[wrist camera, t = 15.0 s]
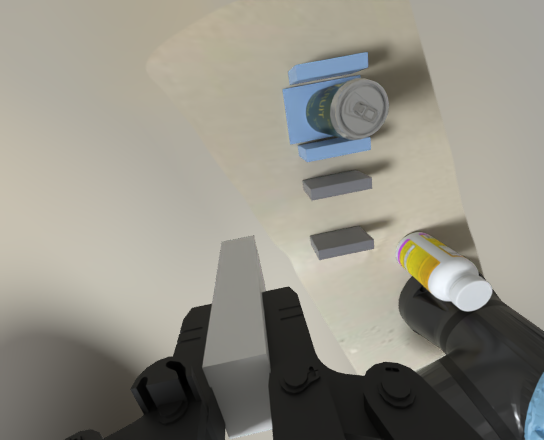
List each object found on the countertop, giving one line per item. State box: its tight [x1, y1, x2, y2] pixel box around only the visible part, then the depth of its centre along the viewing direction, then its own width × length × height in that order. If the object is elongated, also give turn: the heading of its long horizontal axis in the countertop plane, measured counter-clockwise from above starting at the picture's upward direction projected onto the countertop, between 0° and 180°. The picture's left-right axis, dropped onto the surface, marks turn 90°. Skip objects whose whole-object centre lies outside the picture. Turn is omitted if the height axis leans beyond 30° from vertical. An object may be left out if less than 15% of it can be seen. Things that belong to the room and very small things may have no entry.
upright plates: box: [288, 52, 374, 260], centre depth 36 cm, size 24×8×5 cm, turn 10°
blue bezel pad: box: [283, 75, 360, 144], centre depth 35 cm, size 7×10×1 cm
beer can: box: [306, 78, 389, 140], centre depth 30 cm, size 5×5×12 cm
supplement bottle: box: [396, 232, 492, 311], centre depth 39 cm, size 7×7×13 cm
